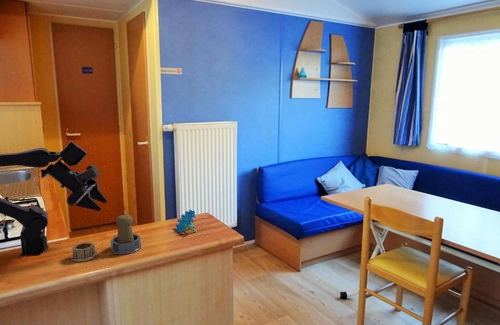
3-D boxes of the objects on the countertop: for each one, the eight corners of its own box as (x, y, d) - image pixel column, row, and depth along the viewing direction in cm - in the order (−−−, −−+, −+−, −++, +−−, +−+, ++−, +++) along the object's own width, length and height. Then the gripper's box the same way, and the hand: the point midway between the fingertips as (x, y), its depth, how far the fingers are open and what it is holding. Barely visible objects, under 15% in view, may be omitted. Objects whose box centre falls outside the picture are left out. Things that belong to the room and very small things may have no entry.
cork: (129, 251, 115) (127, 219, 114) (112, 249, 117) (110, 218, 115) (138, 244, 121) (136, 213, 119) (122, 242, 122) (120, 212, 121)
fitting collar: (107, 255, 114) (107, 244, 113) (115, 243, 123) (114, 234, 123) (138, 253, 115) (137, 243, 114) (143, 242, 124) (143, 232, 124)
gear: (171, 223, 139) (189, 204, 140) (182, 231, 142) (199, 213, 143) (178, 236, 130) (197, 216, 130) (189, 244, 133) (207, 225, 133)
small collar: (66, 262, 108) (65, 251, 108) (76, 252, 116) (75, 241, 116) (93, 261, 109) (92, 250, 109) (101, 250, 117) (100, 240, 117)
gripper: (74, 163, 108) (114, 196, 112) (89, 154, 126) (123, 183, 130) (49, 190, 108) (90, 221, 112) (68, 177, 126) (103, 204, 130)
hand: (103, 206), depth 121 cm, fingers open, 9 cm apart
